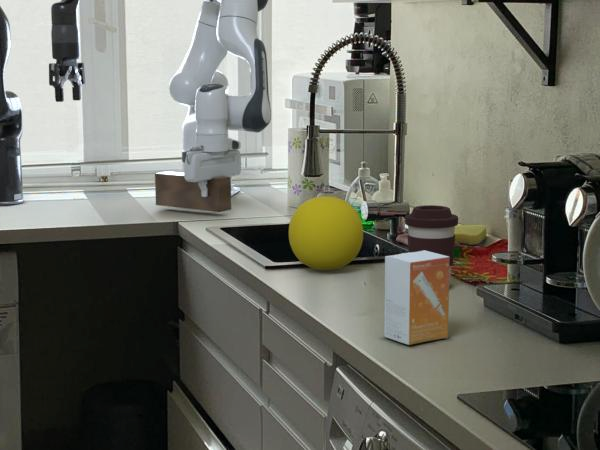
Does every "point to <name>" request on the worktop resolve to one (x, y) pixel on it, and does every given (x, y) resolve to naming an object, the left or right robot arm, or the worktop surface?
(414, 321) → the small box
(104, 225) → the worktop surface
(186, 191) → the bar
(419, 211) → the coffee cup
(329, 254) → the toy
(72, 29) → the left robot arm
